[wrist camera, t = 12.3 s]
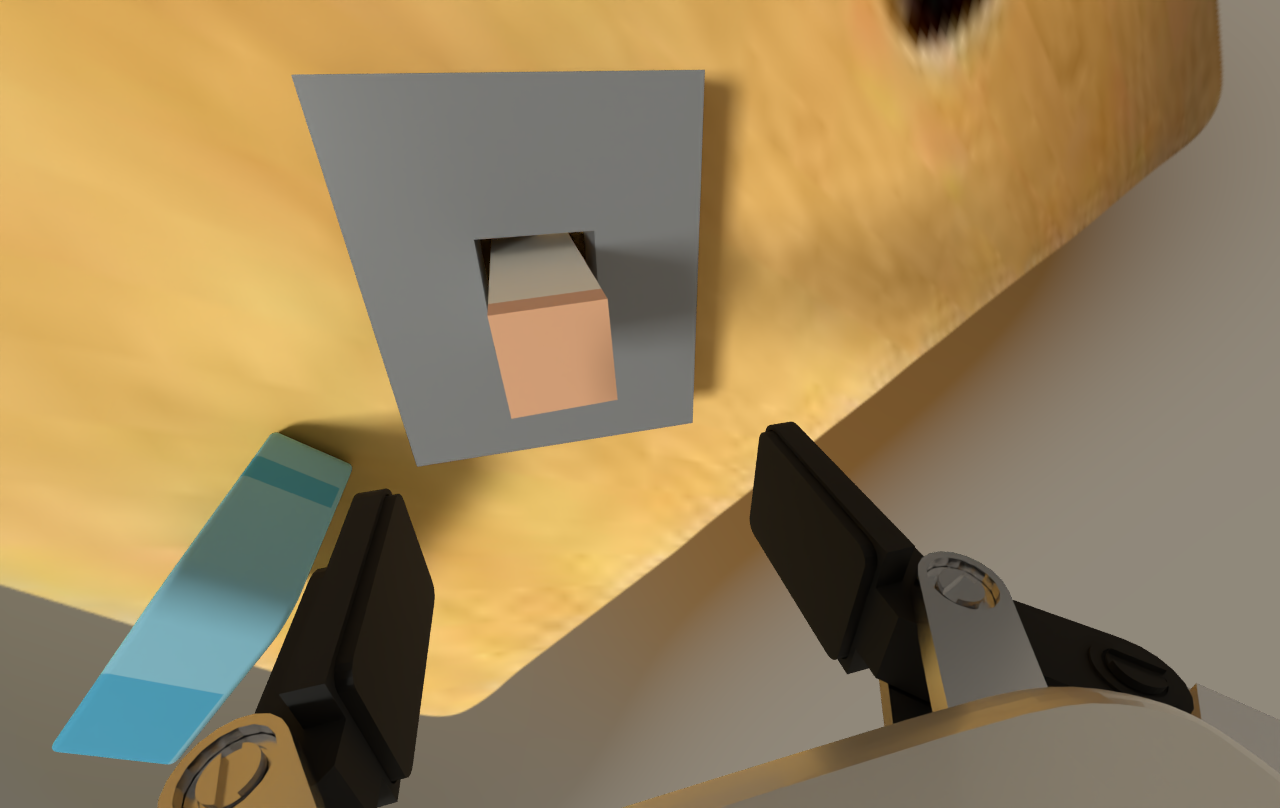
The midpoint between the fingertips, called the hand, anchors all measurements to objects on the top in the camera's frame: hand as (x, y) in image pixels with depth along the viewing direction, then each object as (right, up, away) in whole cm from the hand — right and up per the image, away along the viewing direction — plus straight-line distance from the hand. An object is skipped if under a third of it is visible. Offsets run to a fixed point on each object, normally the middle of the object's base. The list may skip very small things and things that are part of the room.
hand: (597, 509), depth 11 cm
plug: (-5, +10, +17) cm, 20 cm away
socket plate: (-5, +10, +17) cm, 20 cm away
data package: (-22, -4, +20) cm, 30 cm away
